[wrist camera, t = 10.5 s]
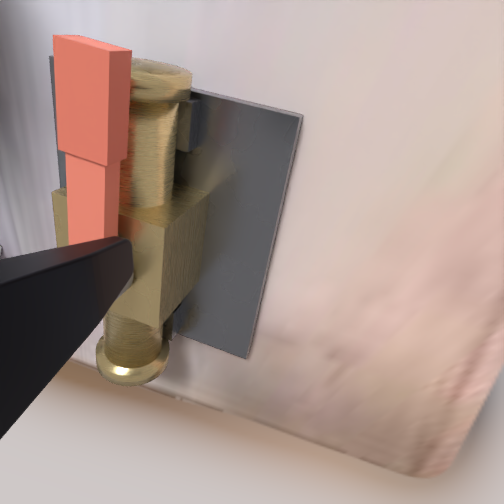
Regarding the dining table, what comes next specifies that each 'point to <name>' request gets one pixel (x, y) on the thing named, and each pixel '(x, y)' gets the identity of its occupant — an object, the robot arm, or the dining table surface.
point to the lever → (92, 131)
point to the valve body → (190, 218)
